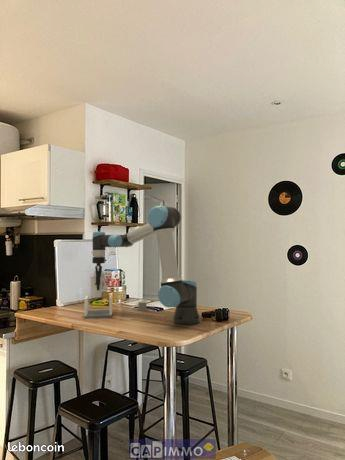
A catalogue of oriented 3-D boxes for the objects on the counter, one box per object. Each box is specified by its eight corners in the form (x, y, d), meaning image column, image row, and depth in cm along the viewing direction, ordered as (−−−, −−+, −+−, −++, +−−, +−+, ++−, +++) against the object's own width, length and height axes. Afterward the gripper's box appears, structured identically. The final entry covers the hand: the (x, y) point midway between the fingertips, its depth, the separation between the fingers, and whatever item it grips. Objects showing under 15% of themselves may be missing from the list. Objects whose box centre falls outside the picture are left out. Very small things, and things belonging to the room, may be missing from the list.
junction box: (146, 310, 234) (146, 302, 234) (138, 310, 233) (138, 303, 234) (145, 308, 240) (145, 301, 240) (138, 309, 239) (138, 301, 240)
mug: (94, 298, 213) (94, 277, 214) (88, 296, 218) (88, 277, 219) (108, 296, 220) (108, 276, 220) (102, 295, 225) (102, 276, 225)
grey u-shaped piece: (111, 317, 212) (111, 298, 212) (84, 318, 210) (84, 299, 210) (112, 313, 226) (112, 294, 226) (86, 314, 224) (86, 295, 224)
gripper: (93, 256, 228) (93, 292, 228) (91, 257, 209) (91, 297, 208) (105, 256, 229) (105, 292, 229) (104, 257, 210) (104, 297, 209)
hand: (98, 294), depth 218 cm, fingers closed on mug, 7 cm apart
